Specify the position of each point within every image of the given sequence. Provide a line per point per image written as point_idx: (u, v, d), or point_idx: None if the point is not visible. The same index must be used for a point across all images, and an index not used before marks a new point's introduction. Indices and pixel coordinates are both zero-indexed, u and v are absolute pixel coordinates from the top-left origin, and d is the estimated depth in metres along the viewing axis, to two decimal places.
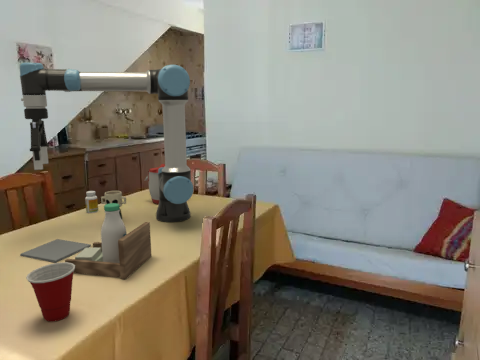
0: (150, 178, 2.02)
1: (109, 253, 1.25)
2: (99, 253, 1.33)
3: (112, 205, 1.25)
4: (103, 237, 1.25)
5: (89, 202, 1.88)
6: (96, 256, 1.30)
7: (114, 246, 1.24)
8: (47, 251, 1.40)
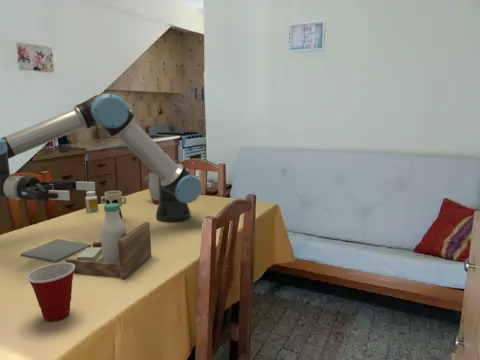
0: (150, 178, 2.02)
1: (109, 253, 1.25)
2: (100, 253, 1.33)
3: (112, 205, 1.25)
4: (103, 237, 1.25)
5: (89, 202, 1.88)
6: (97, 256, 1.31)
7: (114, 246, 1.24)
8: (47, 251, 1.40)
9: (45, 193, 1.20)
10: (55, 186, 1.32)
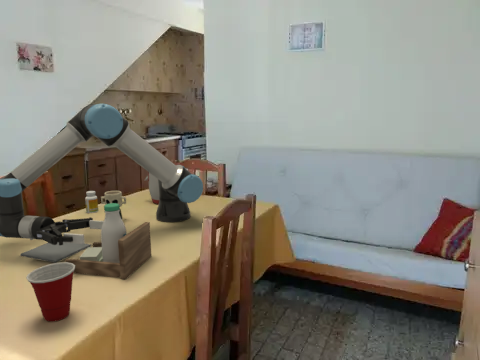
0: (150, 178, 2.02)
1: (109, 253, 1.25)
2: None
3: (112, 205, 1.25)
4: (103, 237, 1.25)
5: (89, 202, 1.88)
6: (100, 255, 1.31)
7: (114, 247, 1.24)
8: (47, 251, 1.40)
9: (60, 237, 1.22)
10: (69, 226, 1.34)
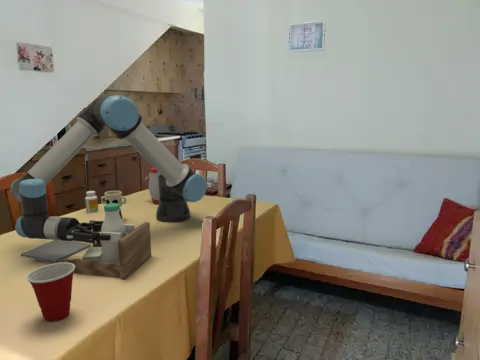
0: (150, 178, 2.02)
1: (109, 253, 1.25)
2: None
3: (112, 205, 1.25)
4: None
5: (89, 202, 1.88)
6: None
7: (114, 246, 1.24)
8: (47, 251, 1.40)
9: (99, 235, 1.22)
10: (94, 227, 1.31)
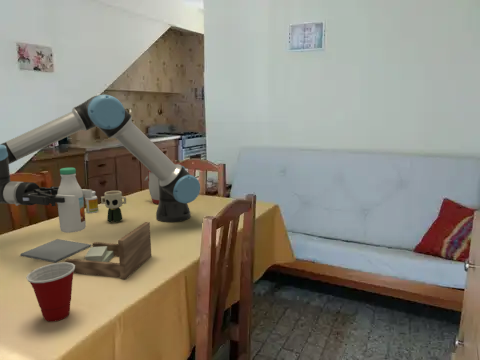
0: (150, 178, 2.02)
1: (64, 216, 1.26)
2: (106, 252, 1.34)
3: (67, 169, 1.26)
4: None
5: (89, 202, 1.88)
6: (104, 254, 1.32)
7: (69, 209, 1.26)
8: (47, 251, 1.40)
9: (53, 197, 1.24)
10: (52, 192, 1.33)
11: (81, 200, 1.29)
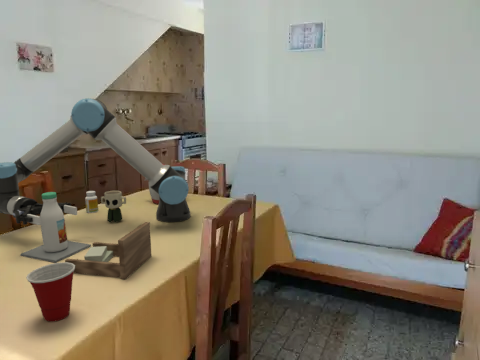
0: None
1: (44, 236, 1.38)
2: (105, 251, 1.34)
3: (47, 194, 1.37)
4: None
5: (89, 202, 1.88)
6: (104, 254, 1.32)
7: (47, 231, 1.37)
8: None
9: (23, 217, 1.34)
10: None
11: (60, 223, 1.38)
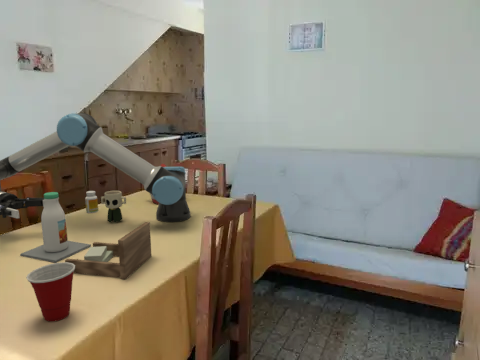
0: None
1: (45, 236, 1.38)
2: (105, 251, 1.34)
3: (50, 193, 1.37)
4: (41, 222, 1.38)
5: (89, 202, 1.88)
6: (104, 254, 1.32)
7: (48, 231, 1.37)
8: None
9: (2, 210, 1.41)
10: (26, 203, 1.53)
11: (61, 223, 1.38)
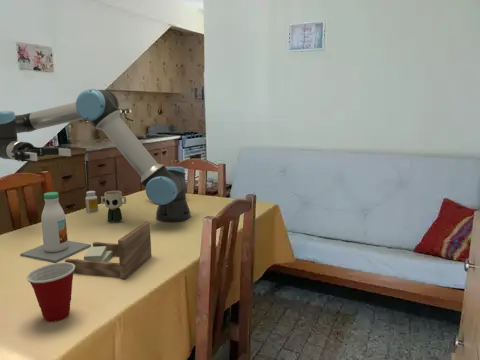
0: None
1: (45, 236, 1.38)
2: (105, 251, 1.34)
3: (50, 193, 1.37)
4: (41, 222, 1.38)
5: (89, 202, 1.88)
6: (103, 254, 1.32)
7: (48, 231, 1.37)
8: None
9: (21, 154, 1.47)
10: (42, 151, 1.59)
11: (61, 223, 1.38)
